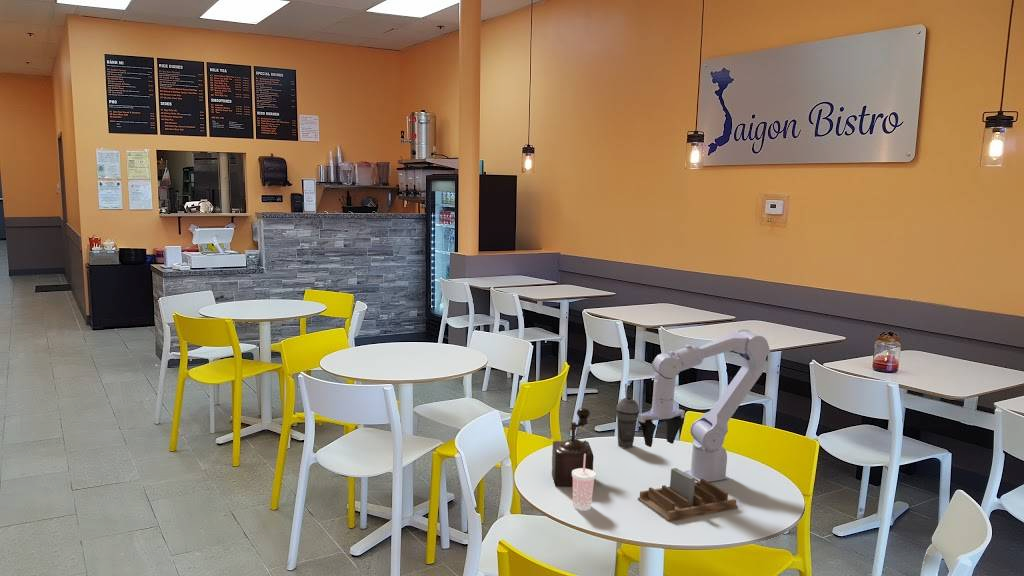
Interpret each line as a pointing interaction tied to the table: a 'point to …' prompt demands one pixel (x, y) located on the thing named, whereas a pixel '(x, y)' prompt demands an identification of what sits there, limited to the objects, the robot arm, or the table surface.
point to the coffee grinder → (571, 454)
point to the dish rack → (677, 506)
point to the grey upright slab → (682, 484)
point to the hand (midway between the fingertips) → (659, 444)
